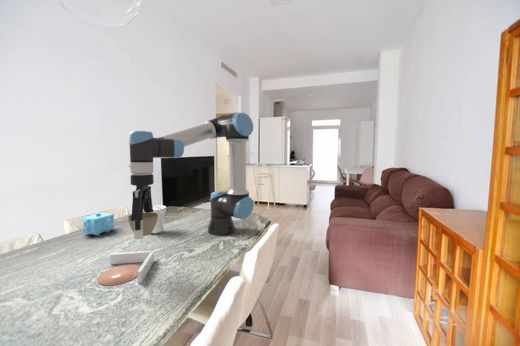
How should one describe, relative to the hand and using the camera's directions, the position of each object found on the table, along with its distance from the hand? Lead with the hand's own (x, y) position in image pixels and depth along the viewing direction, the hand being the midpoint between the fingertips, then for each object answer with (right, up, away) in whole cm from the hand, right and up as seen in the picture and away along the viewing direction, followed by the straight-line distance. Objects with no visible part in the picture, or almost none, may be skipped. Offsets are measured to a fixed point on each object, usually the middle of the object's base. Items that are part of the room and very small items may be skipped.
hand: (143, 233), depth 86 cm
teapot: (-46, -11, +42) cm, 63 cm away
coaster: (-7, -15, -2) cm, 17 cm away
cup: (-15, -11, +43) cm, 46 cm away
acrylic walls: (-7, -15, 0) cm, 16 cm away
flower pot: (0, -1, 0) cm, 1 cm away
